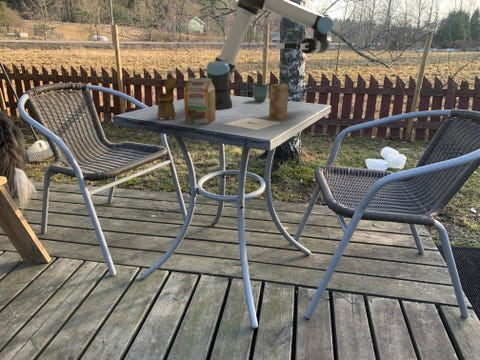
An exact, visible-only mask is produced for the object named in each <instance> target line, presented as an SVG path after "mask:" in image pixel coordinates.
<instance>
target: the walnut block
mask: <svg viewBox="0 0 480 360" xmlns="http://www.w3.org/2000/svg"><path fill="white" fill-rule="evenodd" d="M288 101H289V84H282V83H275V84H269V101H268V102H269V107H268V108H269V109H268V110H269V111H268V116H269V118H273V119H279V120H280V119H284V118H287V116H288Z"/></svg>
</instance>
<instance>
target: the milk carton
mask: <svg viewBox="0 0 480 360" xmlns="http://www.w3.org/2000/svg"><path fill="white" fill-rule="evenodd" d="M183 99H184V100H183V102H184V118H185V123H191V124H190V125H211V124H212V123H213V122H214V121H216V109H215V88H214V85H213V84H212V82H211V79H210V78H207V77H206V78H205V77H204V78H202V77H188V78H187V81H186V85H185V86H184V89H183Z"/></svg>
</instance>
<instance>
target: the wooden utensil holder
mask: <svg viewBox="0 0 480 360" xmlns="http://www.w3.org/2000/svg"><path fill="white" fill-rule="evenodd" d="M177 86H178V80H177V78H176V77H175V76H172V77H169V78H168V79H167V80H166V81H165V84H164V87H165V89H166V92H165V93H163V92H162V93H158V95H157V114H156V118H157V117H158V118H163V119H170V118H175V117H176V118H177V114H176V111H175V106H174V97H173V90H175V89H176V87H177ZM176 118H175V119H176Z"/></svg>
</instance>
